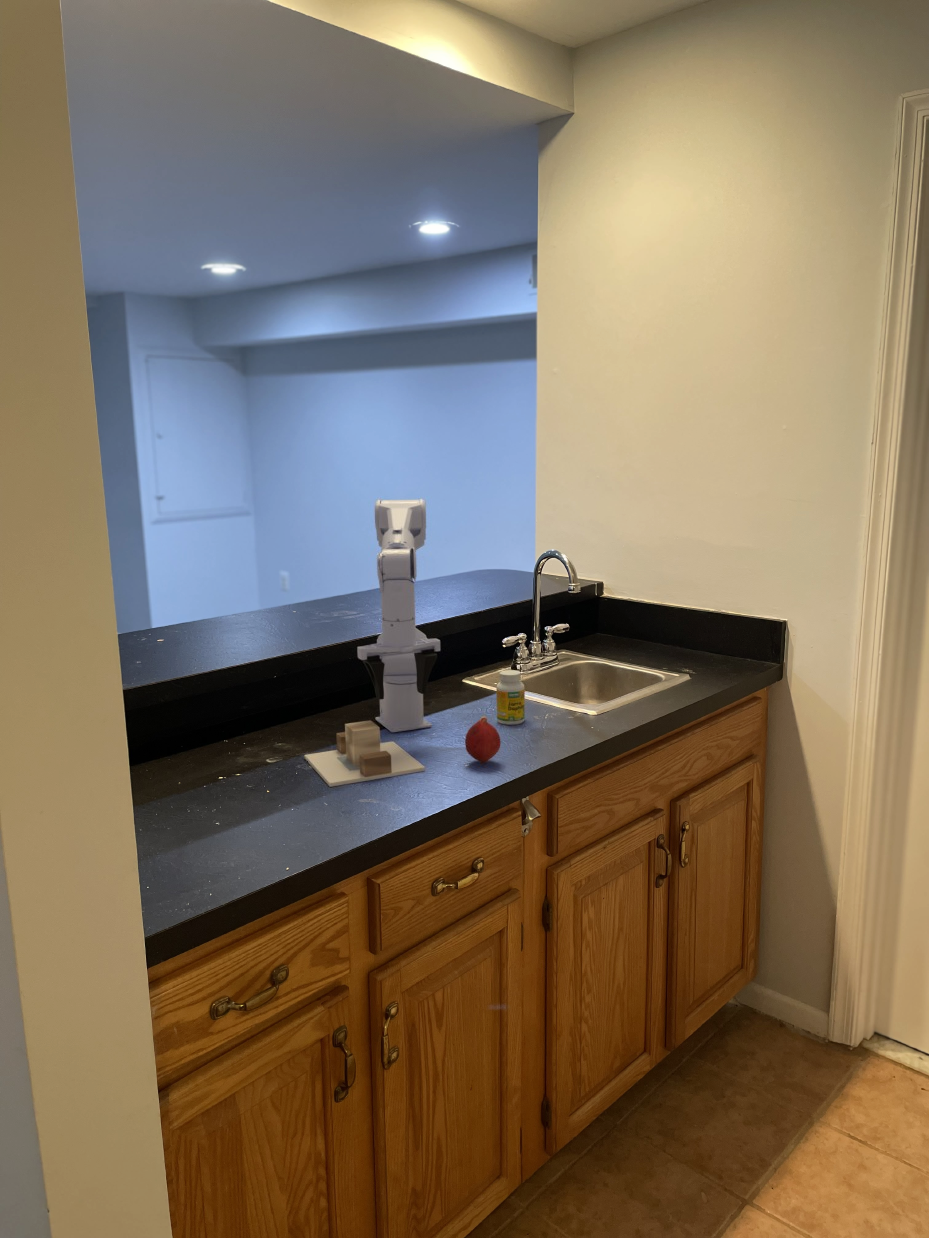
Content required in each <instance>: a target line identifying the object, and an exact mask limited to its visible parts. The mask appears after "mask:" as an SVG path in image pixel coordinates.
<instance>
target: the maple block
mask: <svg viewBox="0 0 929 1238" xmlns="http://www.w3.org/2000/svg"><path fill="white" fill-rule="evenodd" d="M344 729H345V730H344V732H345V737H346V759H347V760H348V761H349V762H351V763H352V764H353V765H354V766H355V767H356V766H360V757H359V755H361V754H367V753H374V752H380V743H381V730H380V726H378V724H376V723H375V722H373V721H372V720H364V721H358V722H357V721H356V722H350V723H344Z"/></svg>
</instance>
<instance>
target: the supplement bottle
mask: <svg viewBox="0 0 929 1238" xmlns="http://www.w3.org/2000/svg"><path fill="white" fill-rule="evenodd" d="M521 678H522V672H521V671H519V670H514V669H510V670H509V669H506V670H501V671H499V680H500V681H499V682H498V683H497V685H496V721H497V723H500V724H501V725H502V724H503V725H508V726H512V725H520V724H523V723H524V721H525V718H526V715H525V714H526V712H525V710H526V709H525V708H526V707H525V705H526V701H525V693H526V692H525V684H524V683H523V682H522V681H521Z"/></svg>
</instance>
